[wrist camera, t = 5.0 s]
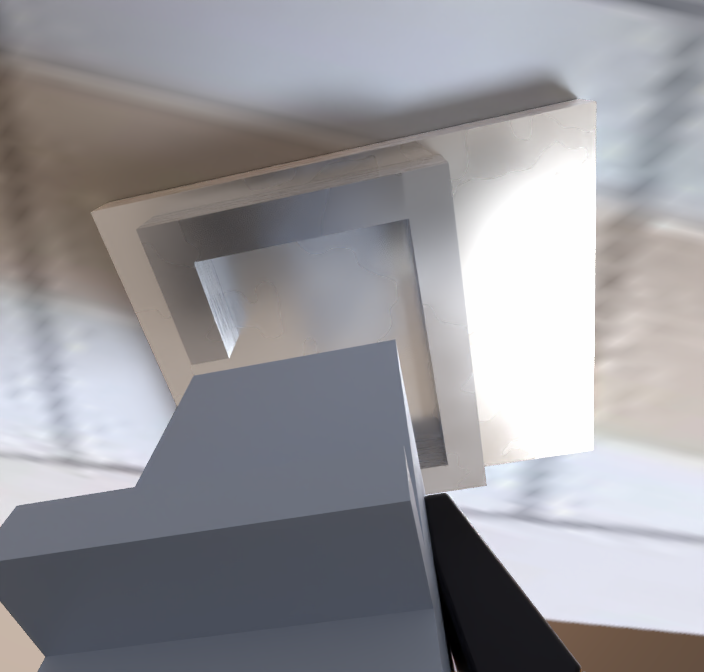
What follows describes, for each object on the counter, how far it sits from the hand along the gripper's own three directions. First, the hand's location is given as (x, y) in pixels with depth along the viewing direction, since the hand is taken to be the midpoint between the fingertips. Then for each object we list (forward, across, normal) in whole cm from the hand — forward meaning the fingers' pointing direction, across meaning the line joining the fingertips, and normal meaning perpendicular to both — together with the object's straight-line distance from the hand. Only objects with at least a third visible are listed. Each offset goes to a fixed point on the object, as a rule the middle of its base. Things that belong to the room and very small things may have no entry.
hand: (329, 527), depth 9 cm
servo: (+1, 0, 0) cm, 1 cm away
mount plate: (+7, -1, 0) cm, 7 cm away
